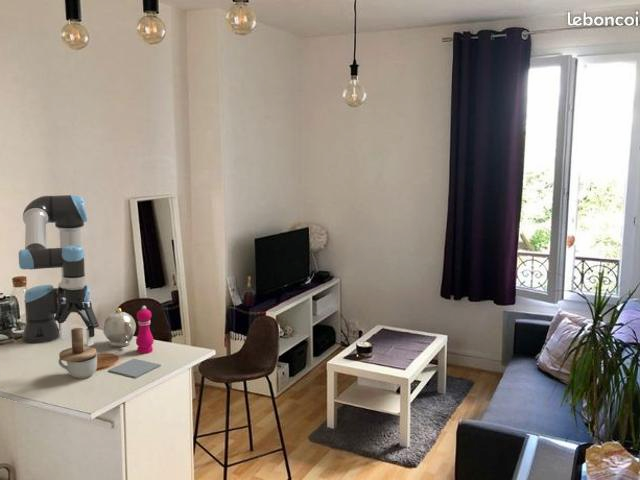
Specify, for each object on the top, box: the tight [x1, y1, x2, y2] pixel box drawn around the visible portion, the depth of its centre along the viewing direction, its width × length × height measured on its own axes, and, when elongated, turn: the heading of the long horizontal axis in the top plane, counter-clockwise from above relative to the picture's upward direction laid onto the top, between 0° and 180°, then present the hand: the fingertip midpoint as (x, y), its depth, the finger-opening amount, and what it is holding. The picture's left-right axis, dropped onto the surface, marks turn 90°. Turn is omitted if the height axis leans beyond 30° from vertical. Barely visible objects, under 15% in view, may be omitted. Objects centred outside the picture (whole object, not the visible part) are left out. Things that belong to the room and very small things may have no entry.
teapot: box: [102, 307, 137, 348], centre depth 256 cm, size 18×14×16 cm
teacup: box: [57, 352, 98, 379], centre depth 223 cm, size 14×11×8 cm
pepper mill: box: [135, 305, 154, 355], centre depth 249 cm, size 7×7×20 cm
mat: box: [107, 358, 162, 379], centre depth 231 cm, size 14×14×1 cm
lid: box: [58, 327, 97, 362], centre depth 221 cm, size 13×13×10 cm
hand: (77, 342), depth 221 cm, fingers open, 13 cm apart
